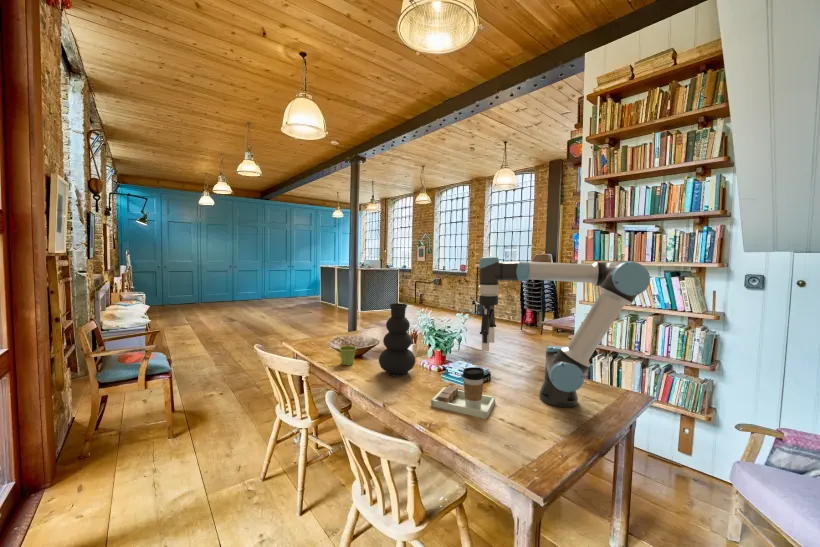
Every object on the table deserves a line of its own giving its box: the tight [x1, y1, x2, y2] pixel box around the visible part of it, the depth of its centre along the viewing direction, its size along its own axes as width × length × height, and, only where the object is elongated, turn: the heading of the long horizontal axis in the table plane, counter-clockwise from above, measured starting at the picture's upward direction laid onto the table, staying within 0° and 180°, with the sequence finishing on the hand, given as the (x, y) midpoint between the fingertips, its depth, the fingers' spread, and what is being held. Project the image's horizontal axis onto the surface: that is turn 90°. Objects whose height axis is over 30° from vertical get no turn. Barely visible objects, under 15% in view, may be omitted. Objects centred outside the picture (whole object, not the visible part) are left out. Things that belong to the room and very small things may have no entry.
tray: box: [430, 386, 496, 420], centre depth 139 cm, size 22×15×4 cm
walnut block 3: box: [446, 385, 459, 400], centre depth 146 cm, size 4×4×4 cm
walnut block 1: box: [438, 393, 450, 403], centre depth 138 cm, size 4×4×4 cm
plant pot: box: [338, 345, 357, 366], centre depth 188 cm, size 9×9×9 cm
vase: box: [378, 302, 416, 377], centre depth 175 cm, size 18×18×35 cm
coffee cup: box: [462, 366, 485, 409], centre depth 137 cm, size 8×8×15 cm
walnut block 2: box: [441, 389, 454, 403], centre depth 143 cm, size 4×4×4 cm
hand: (488, 346), depth 143 cm, fingers open, 13 cm apart
